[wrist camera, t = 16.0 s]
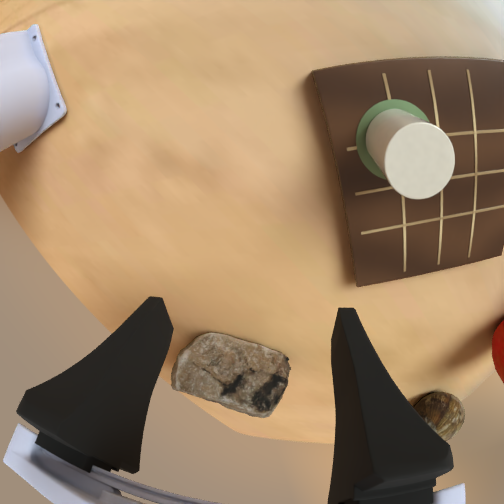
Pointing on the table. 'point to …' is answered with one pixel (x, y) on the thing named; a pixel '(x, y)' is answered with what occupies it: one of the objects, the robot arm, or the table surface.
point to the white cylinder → (410, 153)
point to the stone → (232, 373)
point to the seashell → (442, 413)
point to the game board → (457, 189)
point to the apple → (498, 350)
